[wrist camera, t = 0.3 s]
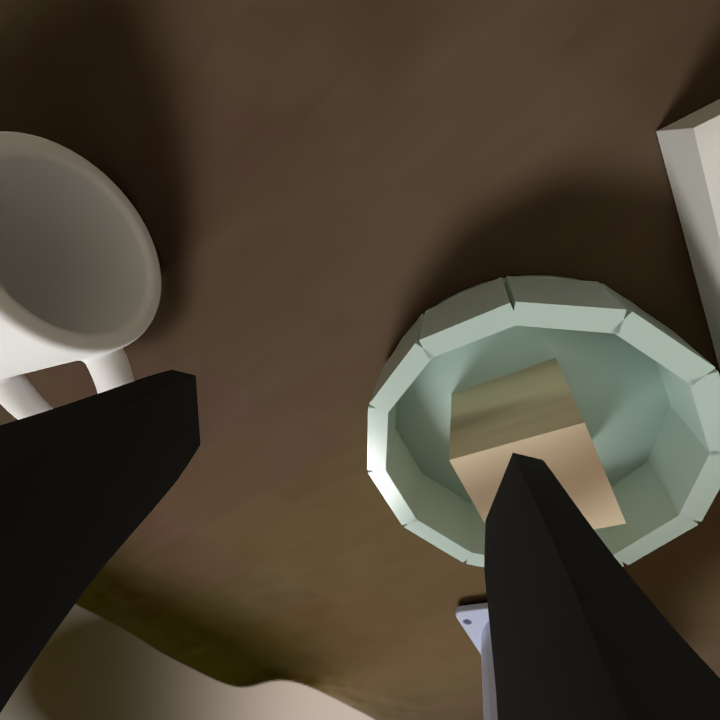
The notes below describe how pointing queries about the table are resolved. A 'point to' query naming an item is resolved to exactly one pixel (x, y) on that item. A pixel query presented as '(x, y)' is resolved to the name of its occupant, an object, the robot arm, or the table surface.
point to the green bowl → (589, 389)
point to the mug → (67, 270)
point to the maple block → (528, 440)
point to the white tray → (698, 200)
